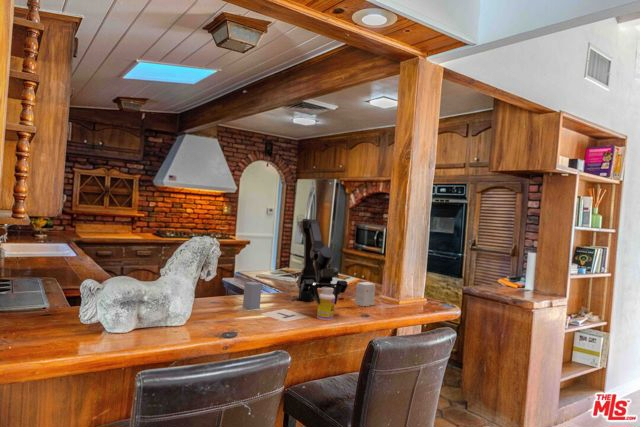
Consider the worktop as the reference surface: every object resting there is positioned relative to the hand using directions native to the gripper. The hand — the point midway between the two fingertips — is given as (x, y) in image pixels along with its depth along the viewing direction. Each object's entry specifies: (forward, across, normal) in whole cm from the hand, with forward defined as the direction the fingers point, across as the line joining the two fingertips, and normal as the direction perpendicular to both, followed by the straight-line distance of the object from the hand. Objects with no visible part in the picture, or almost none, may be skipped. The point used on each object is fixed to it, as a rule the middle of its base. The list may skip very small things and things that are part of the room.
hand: (327, 303), depth 172 cm
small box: (-15, +28, +24) cm, 40 cm away
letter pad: (+1, -16, +8) cm, 18 cm away
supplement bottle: (+4, 0, +6) cm, 7 cm away
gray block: (-6, -28, +16) cm, 33 cm away
